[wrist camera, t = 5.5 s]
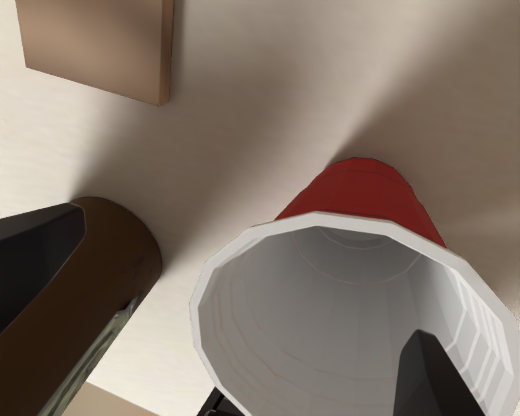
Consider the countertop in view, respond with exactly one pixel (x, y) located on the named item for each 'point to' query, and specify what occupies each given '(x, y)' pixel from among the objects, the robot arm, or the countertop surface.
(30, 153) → the countertop surface
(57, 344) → the olive oil
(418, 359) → the robot arm
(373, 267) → the plastic cup
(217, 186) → the countertop surface
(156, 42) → the square tan coaster
